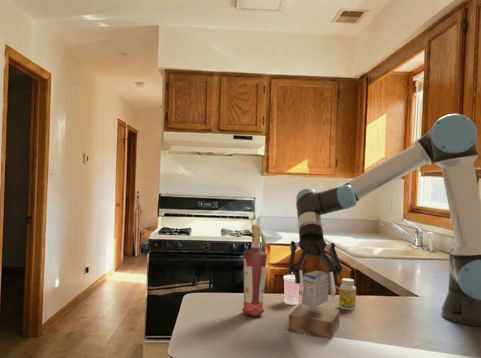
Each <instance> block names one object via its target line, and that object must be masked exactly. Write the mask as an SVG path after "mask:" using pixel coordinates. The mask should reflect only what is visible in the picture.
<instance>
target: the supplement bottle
mask: <svg viewBox="0 0 481 358" xmlns="http://www.w3.org/2000/svg"><path fill="white" fill-rule="evenodd" d="M356 297H357V288H356V286H355V280H354V278H353V279H352V278H348V277H347V278H342V279H341V285H340V286H339V300H338V301H339V303H338V305H339V306H338V307H339V308H340V309H342V310H345V311H346V310H347V311H351V310H352V311H354V310H355V309H356V303H357V301H356V300H357V299H356Z"/></svg>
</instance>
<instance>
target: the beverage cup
mask: <svg viewBox="0 0 481 358" xmlns="http://www.w3.org/2000/svg"><path fill="white" fill-rule="evenodd" d="M283 288H284V289H283V290H284V293H283V294H284V296H283V297H284V303H285V304H287V305H294V306H295V305H299V296H300V290H299V284H297V283H296V282H295V275H294V273H293V272H291V274H285V275H283Z"/></svg>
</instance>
